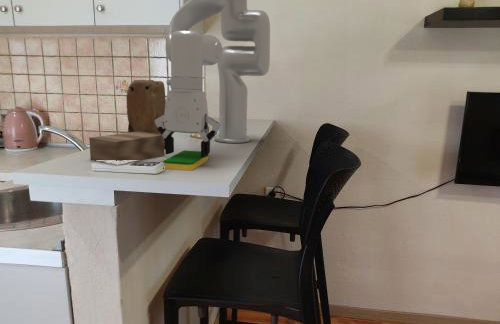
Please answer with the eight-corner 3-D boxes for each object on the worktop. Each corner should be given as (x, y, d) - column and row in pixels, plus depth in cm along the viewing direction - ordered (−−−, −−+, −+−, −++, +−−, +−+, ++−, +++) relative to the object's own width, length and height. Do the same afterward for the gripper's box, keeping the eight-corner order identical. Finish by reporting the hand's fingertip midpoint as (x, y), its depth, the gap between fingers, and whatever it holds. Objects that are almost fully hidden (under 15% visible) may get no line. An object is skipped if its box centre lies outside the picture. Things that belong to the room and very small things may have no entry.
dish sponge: (163, 170, 90) (163, 160, 90) (183, 158, 104) (183, 150, 103) (192, 172, 89) (192, 162, 89) (208, 160, 102) (208, 151, 102)
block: (168, 146, 118) (167, 80, 114) (155, 150, 111) (154, 80, 107) (138, 143, 121) (136, 79, 117) (124, 147, 114) (121, 79, 110)
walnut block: (139, 151, 110) (138, 131, 109) (164, 156, 105) (164, 134, 104) (90, 161, 97) (89, 137, 96) (117, 166, 92) (116, 142, 91)
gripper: (146, 83, 91) (148, 154, 95) (214, 86, 86) (213, 160, 90) (162, 84, 98) (163, 149, 102) (226, 86, 93) (224, 155, 97)
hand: (186, 154), depth 96 cm, fingers open, 9 cm apart
